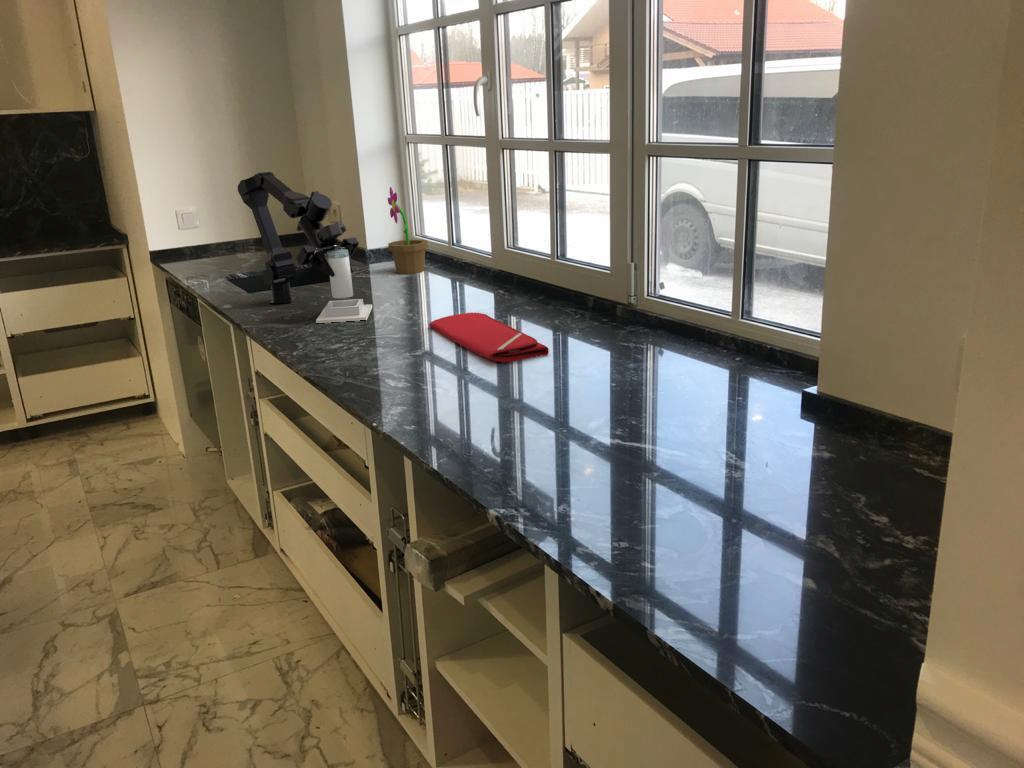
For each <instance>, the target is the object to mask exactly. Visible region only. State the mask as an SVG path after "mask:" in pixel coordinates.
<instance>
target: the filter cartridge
mask: <svg viewBox="0 0 1024 768" xmlns="http://www.w3.org/2000/svg"><path fill="white" fill-rule="evenodd" d="M326 256H327V259H326V260H327V262H328V264H329V265H330V267H331V268H332V270H333V272H334V274H335V275H334V277H332V276H330V275H329V282H330V289H331V297H332V298H333V299H347V298H351V297H354V289H353V281H352V273H351V271H350V262H349V253H348V250H347V249H336V250H330V251H327V255H326Z"/></svg>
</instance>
